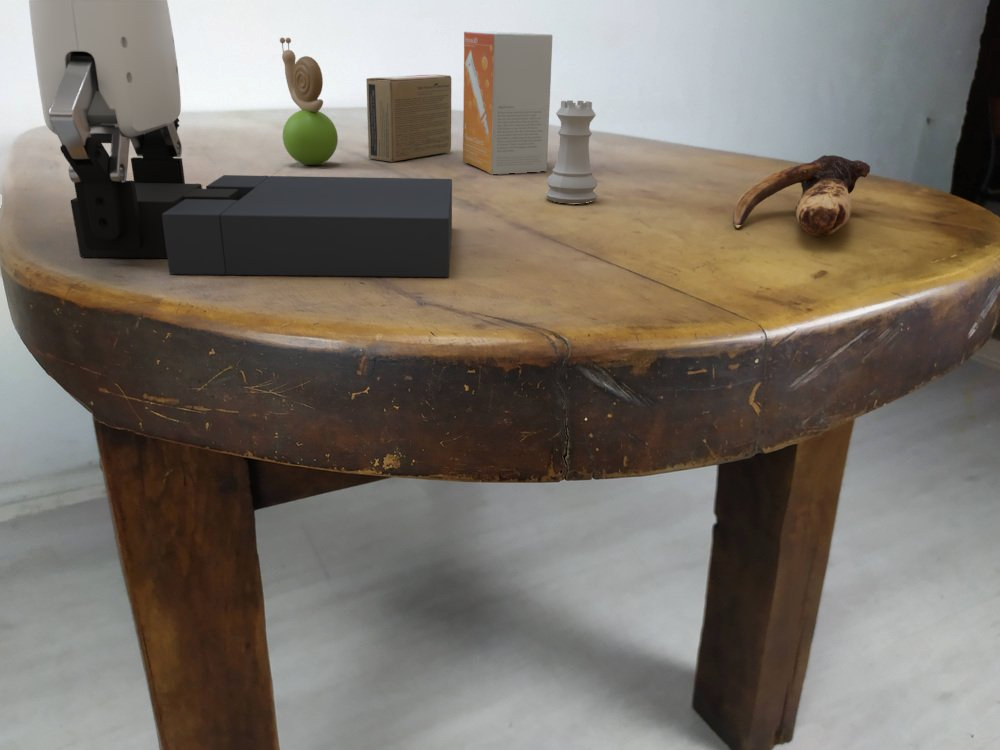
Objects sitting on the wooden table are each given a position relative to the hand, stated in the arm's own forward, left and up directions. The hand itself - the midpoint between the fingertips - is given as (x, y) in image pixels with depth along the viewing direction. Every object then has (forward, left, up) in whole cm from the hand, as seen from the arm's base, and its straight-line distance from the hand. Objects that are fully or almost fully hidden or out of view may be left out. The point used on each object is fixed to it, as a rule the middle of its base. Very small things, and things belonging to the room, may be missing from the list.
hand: (141, 231), depth 53 cm
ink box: (+15, +41, -1) cm, 44 cm away
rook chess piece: (+30, +17, -1) cm, 34 cm away
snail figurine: (+5, +34, -1) cm, 35 cm away
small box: (+25, +34, -1) cm, 42 cm away
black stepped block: (+2, 0, -1) cm, 2 cm away
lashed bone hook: (+46, +10, -1) cm, 47 cm away
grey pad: (+12, 0, -1) cm, 12 cm away
